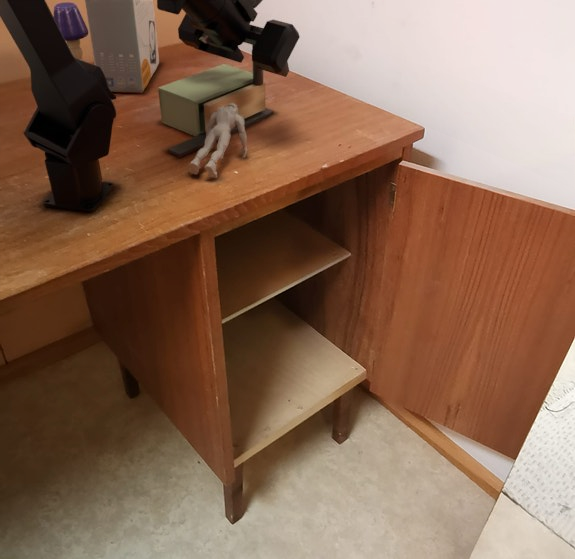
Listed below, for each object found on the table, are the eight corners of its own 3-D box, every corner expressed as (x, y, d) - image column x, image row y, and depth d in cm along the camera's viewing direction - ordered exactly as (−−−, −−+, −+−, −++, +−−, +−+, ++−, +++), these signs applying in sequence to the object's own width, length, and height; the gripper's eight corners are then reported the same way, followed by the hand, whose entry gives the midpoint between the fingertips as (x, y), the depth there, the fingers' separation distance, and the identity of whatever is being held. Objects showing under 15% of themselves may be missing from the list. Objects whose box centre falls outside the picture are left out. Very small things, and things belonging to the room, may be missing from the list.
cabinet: (180, 157, 84) (176, 119, 80) (130, 135, 89) (125, 99, 86) (273, 113, 96) (274, 79, 93) (225, 96, 101) (224, 63, 98)
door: (212, 134, 88) (208, 63, 82) (204, 131, 89) (199, 60, 82) (266, 109, 95) (266, 43, 89) (258, 107, 96) (258, 40, 90)
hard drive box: (144, 94, 101) (127, -39, 89) (98, 93, 101) (75, -40, 89) (160, 63, 113) (148, -58, 101) (119, 61, 113) (102, -59, 101)
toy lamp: (95, 129, 90) (73, 10, 80) (66, 126, 91) (40, 7, 81) (109, 116, 94) (90, 1, 84) (81, 113, 95) (58, -2, 84)
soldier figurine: (229, 193, 81) (259, 130, 87) (222, 166, 76) (254, 101, 82) (186, 185, 83) (218, 123, 88) (176, 157, 78) (211, 94, 84)
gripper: (292, -43, 74) (338, 31, 87) (185, -63, 83) (242, 7, 96) (250, 39, 74) (303, 100, 87) (148, 10, 83) (210, 70, 97)
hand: (263, 66), depth 92 cm, fingers open, 9 cm apart
